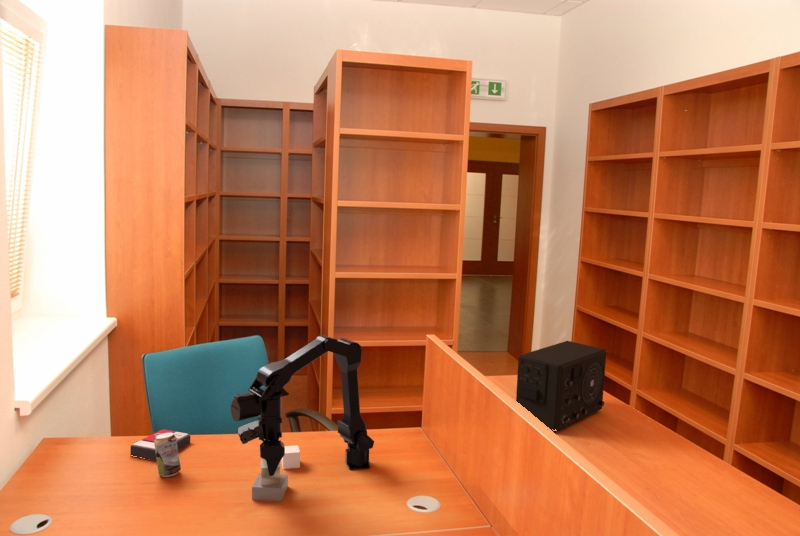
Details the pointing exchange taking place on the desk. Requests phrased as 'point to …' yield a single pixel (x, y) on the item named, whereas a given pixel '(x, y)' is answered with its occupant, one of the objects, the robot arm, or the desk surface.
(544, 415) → the vintage radio
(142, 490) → the desk surface
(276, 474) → the cube block
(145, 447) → the red and white box
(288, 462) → the off-white block
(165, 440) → the beverage can
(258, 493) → the grey base block
